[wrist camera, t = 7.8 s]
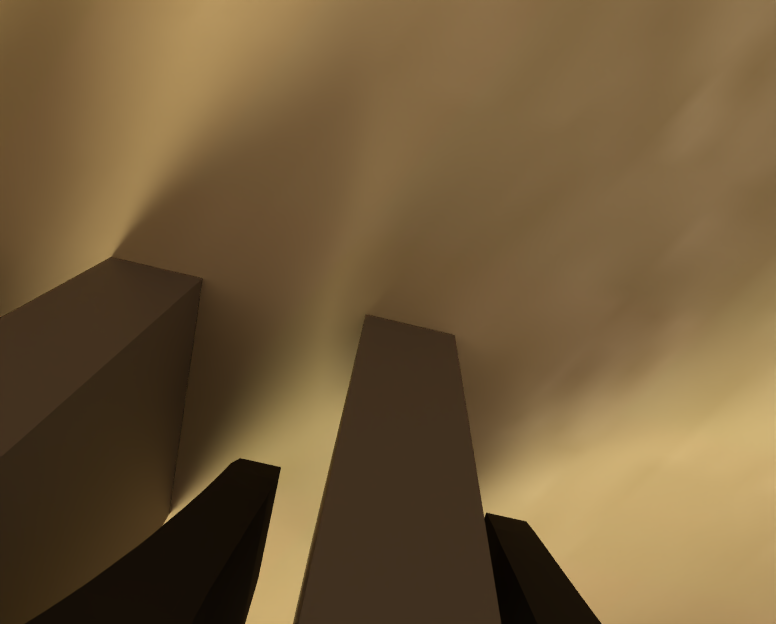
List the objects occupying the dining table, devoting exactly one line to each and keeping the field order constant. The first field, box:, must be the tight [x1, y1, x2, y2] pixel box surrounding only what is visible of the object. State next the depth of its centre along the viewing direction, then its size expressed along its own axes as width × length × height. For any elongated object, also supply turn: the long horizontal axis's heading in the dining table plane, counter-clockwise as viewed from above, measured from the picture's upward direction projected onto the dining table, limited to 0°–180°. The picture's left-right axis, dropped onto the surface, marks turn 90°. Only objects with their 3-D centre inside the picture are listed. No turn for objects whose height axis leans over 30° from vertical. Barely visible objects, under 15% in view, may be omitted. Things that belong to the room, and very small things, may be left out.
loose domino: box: [293, 315, 501, 624], centre depth 9 cm, size 2×5×7 cm, turn 167°
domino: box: [0, 257, 202, 624], centre depth 9 cm, size 2×5×7 cm, turn 167°
